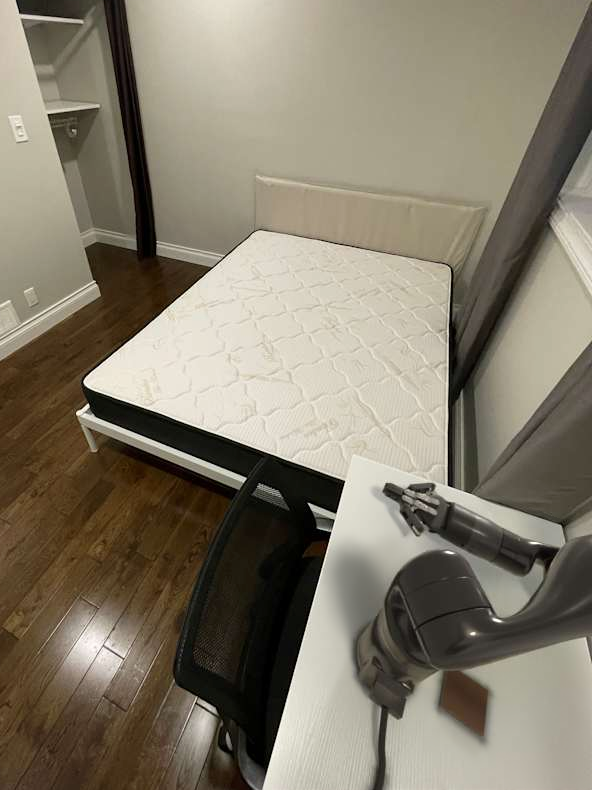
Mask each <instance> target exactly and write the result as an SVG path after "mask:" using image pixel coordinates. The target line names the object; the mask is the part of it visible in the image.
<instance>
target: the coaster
mask: <svg viewBox="0 0 592 790" xmlns="http://www.w3.org/2000/svg"><path fill="white" fill-rule="evenodd" d="M444 673H445V674H444V679H443V685H442V690H441V696H440V703H439V707H440V708H441V709H442V710H444V711H445V712H446V713H448V714H449V715H451V716H452V717H453V718H455V719H456V720H458V721H459V722H460V723H461V724H463V725H464V726H466V727H467V728H468V729H470V730H471V731H473V732H474V733H476V734H477V735H478V736H480V737H484V735H485V725H486V717H487V706H488V697H489V690H488V689H487V688H486V687H484V686H483V685H481V684H480V683H478V682H477V681H476V680H474V679H473V678H471V677H469V676H468V675H466V674H465V673H463V672H462V671H461V670H460V671H445V672H444Z"/></svg>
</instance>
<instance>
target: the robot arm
mask: <svg viewBox="0 0 592 790" xmlns="http://www.w3.org/2000/svg"><path fill="white" fill-rule="evenodd" d="M436 488H437V484H436V483H435V482H420V483H410V484H409V485H408V486H407V487H406V488H402V486H401V487H400V486H399V485H397V484H394V483H393V482H385V484H384V486H383V488H382V490H381V492H382V494H383V495H384V496H385V497H386V498H388V499H391V500H392V501H394V502H396V503H397V504H398V505H399V514H400V515H401V517H402V518H403V519H404V521H405V523H406V524H407V525H408V527H409V528H410V530H411V531H412V533H413V534H414V535H415V536H416V537H418V538H419V537H421V535H423V534H424V533H427V532H428V533H430V534H436V535H437V536H439V537H440V538H441V539H443V540H445V541H446V542H448V543H450V544H452V545H454V546H456V547H458V548H459V549H461V550H463V551H465V552H467V553H469V554H471V555H473V556H475V557H477V558H479V559H481V560H485V561H486V562H489V563H490V564H493V565H494V566H496V567H498V568H500V569H501V570H504V571H505V572H507V573H509V574H511V575H512V576H516V577H519V578H524V577H526V576H528V575H529V574H530V573H531V571H532V570H533V568H534V565H537V566H539V567H542V580H541V582H540V584H539V585H538V587H537V589H536V590H535V591H534V593H533V594H532V595H531V597H530V598H529V599H528V601H527V602H526V603H525V604H524V606H522V607H521V608H520V609H519V610H518V611H517V612H515V613H513V614H511V615H509V616H505V617H503V616H499V615H498V613H496V610H495V609H494V607H493V605H492V603H491V601H490V599H489V597H488V596H487V594H486V591H485V590H484V588H483V587H482V585H481V582H480V581H479V579H478V577H477V576H476V574H475V572H474V570H473V568H472V567H471V565H470V563H469V561H468V560H467V559H466V557H464V556H463V555H462V554H460V553H459V552H457V551H454V550H451V549H446V548H445V549H444V548H438V549H436V548H435V549H430V550H426V551H424V552H421V553H419V554H417V555H415V556H413V557H412V558H410V559H409V560H407V561H406V562H405V563H403V564H402V566H401V567H400V568H399V569H398V571H397V572H396V573H395V575H394V576H393V578H392V580H391V582H390V584H389V587H388V588H387V591H386V592H385V594H384V596H383V602H382V607H381V608H380V610H379V611H378V612H377V614H375V617H374V618H373V619H372V621H371V622H370V623H369V625H368V626H367V627H366V629H365V630H363V632H362V633H361V635H360V636H359V639H358V642H357V646H356V658H357V663H358V667H359V672H358V678H359V679H360V680H362V682H364V683H365V684H367V685H368V686H370V687H371V689H370V692H369V696H368V698H369V699H370V700H371V701H372V702H373V703H374V704H376V705H377V706H379V707H380V708H381V709H380V718H379V727H378V739H377V754H378V756H377V757H378V766H377V773H376V777H375V782H374V787H373V790H383V787H384V782H385V777H386V771H387V769H386V768H387V760H386V758H387V757H386V740H387V738H386V737H387V729H388V718H389V715H391V717H393V718H395V719H396V720H397V721H399V720H401V719H402V718H403V715H404V712H405V707H406V703H407V698H408V697H409V696H411V695H412V694H414V692H415V691H414V690H415V688H416V686H418V685H419V684H421V683H422V682H424V681H425V680H427V679H428V678H430V677H431V676H433V675H434V674H436V673H438V672H440V671H443V672H446V671H460V672H461V671H465V670H470V669H475V668H479V667H482V666H486V665H491V664H494V663H498V662H500V661H504V660H507V659H510V658H513V657H518V656H520V655H524V654H527V653H530V652H534V651H538V650H541V649H544V648H547V647H548V648H549V647H551V646H554V645H557V644H561V643H567V642H570V641H574V640H578V639H583V638H588V637H589V638H590V637H592V533H590V534H585V535H581V536H577V537H574V538H572V539H570V540H568V541H567V542H565V543H564V544H563V545H562V546H561V547H560V546H556V545H551V544H548V543H544V542H540V541H536V540H534V539H533V540H532V539H528V538H525V537H522V536H521V535H518V534H517V533H515V532H512V531H511V530H508V529H507V528H504V527H502V526H500V525H498V524H497V523H495V522H494V521H492V520H491V519H489V518H487V517H485V516H484V515H481V514H478V513H477V512H475V511H473V510H471V509H469V508H467V507H464V506H463V505H461V504H458V503H456V502H454V501H448V500H447V499H446V498H444V497H443V496H442V495H440V494H438V492H437V490H436Z"/></svg>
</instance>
